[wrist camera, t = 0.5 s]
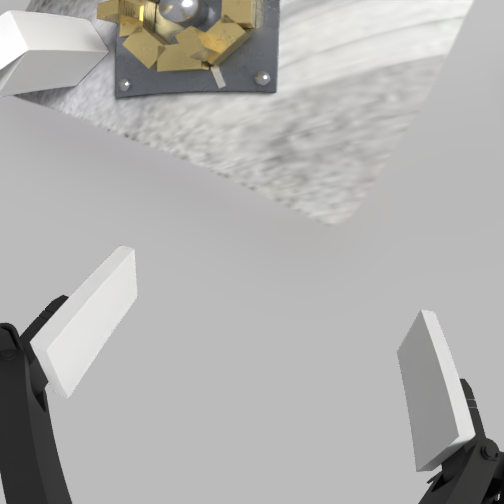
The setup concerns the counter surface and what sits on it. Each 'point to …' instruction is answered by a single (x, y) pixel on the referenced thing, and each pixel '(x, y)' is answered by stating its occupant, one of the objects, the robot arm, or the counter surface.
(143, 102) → the counter surface
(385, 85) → the counter surface
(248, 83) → the flange plate
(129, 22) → the gold foil sensor mount
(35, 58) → the milk carton
